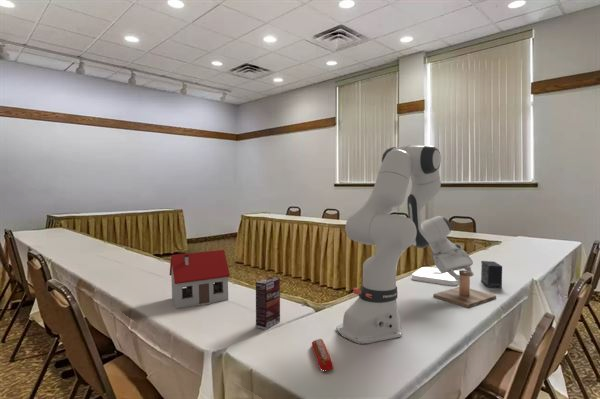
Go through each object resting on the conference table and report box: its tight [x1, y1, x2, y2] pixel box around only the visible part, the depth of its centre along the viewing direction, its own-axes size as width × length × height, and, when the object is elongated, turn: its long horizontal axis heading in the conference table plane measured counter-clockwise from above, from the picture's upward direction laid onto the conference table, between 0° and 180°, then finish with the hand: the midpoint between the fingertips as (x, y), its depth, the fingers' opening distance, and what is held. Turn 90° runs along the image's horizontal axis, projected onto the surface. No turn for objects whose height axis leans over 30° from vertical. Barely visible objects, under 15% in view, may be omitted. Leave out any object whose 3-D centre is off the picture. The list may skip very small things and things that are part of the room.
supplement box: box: [255, 276, 281, 331], centre depth 120 cm, size 9×5×16 cm, turn 148°
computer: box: [411, 266, 460, 286], centre depth 177 cm, size 22×22×3 cm
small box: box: [480, 260, 503, 289], centre depth 163 cm, size 11×6×10 cm, turn 168°
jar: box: [458, 269, 471, 296], centre depth 145 cm, size 4×4×10 cm
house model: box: [169, 249, 231, 309], centre depth 148 cm, size 25×20×21 cm
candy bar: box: [311, 338, 334, 372], centre depth 96 cm, size 16×4×3 cm, turn 7°
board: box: [433, 286, 497, 308], centre depth 145 cm, size 20×16×1 cm
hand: (465, 277), depth 145 cm, fingers open, 8 cm apart
